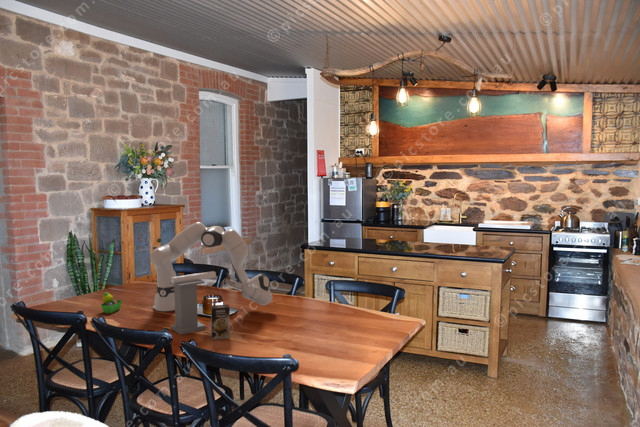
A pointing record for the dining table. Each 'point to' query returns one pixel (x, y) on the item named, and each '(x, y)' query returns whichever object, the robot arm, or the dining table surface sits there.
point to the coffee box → (220, 322)
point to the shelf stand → (186, 307)
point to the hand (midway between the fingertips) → (230, 282)
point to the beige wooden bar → (193, 277)
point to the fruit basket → (110, 303)
